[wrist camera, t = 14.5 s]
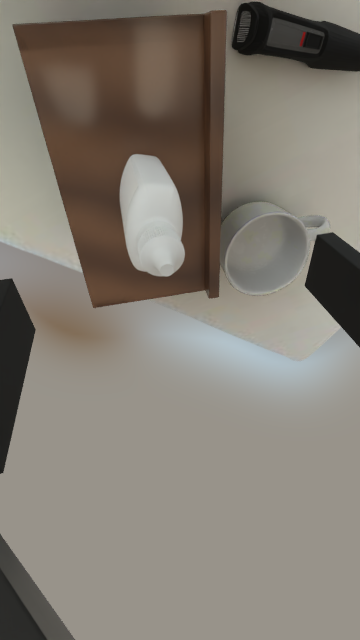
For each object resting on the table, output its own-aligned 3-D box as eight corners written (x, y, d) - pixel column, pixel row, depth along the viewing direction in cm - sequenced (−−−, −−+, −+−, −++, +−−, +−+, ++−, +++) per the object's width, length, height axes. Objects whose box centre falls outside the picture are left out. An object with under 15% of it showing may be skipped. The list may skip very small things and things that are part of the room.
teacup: (212, 274, 48) (229, 305, 42) (203, 202, 41) (221, 227, 35) (301, 250, 48) (330, 278, 42) (307, 176, 41) (344, 196, 35)
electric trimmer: (358, 81, 36) (377, 82, 33) (229, 52, 32) (240, 51, 29) (375, 36, 34) (397, 34, 31) (239, -1, 30) (252, -6, 27)
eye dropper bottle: (98, 207, 25) (98, 293, 16) (137, 141, 23) (165, 196, 14) (144, 236, 27) (168, 326, 18) (185, 178, 25) (235, 247, 16)
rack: (44, 37, 29) (6, 21, 17) (176, 29, 30) (227, 9, 18) (94, 244, 41) (93, 318, 30) (185, 231, 43) (219, 297, 31)
